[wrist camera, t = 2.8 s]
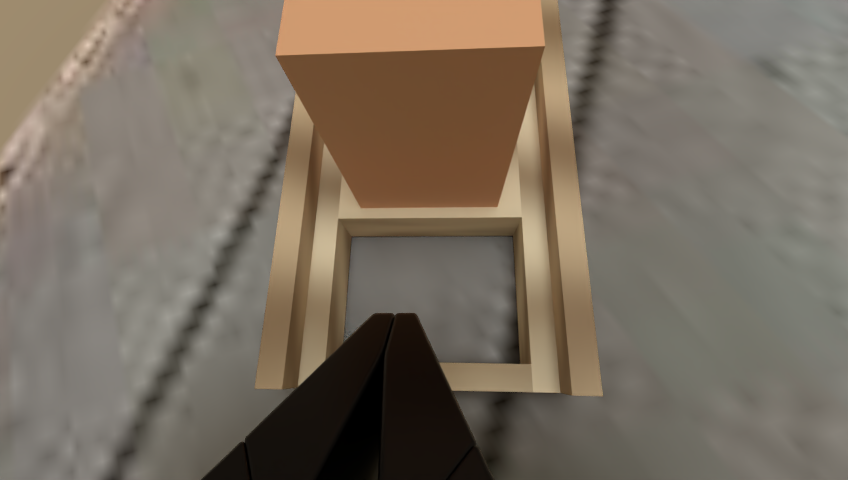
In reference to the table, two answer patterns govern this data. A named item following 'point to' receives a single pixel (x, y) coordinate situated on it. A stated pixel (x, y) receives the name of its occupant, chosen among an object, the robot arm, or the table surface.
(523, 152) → the wooden compartment tray
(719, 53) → the table surface
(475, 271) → the table surface
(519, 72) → the terracotta block
